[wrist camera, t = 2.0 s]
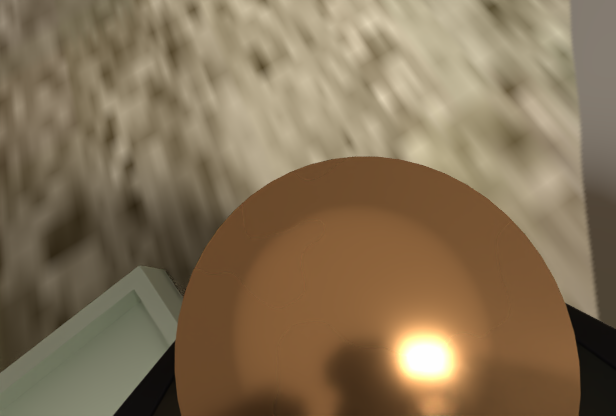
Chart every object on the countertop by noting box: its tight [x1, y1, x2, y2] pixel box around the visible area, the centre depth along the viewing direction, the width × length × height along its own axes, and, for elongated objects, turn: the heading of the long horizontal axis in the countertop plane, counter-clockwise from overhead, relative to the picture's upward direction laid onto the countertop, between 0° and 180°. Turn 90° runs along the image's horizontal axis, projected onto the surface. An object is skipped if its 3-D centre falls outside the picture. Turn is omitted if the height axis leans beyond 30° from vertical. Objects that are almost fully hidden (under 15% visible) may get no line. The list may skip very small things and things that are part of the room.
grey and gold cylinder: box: [175, 157, 581, 416], centre depth 10 cm, size 6×6×12 cm
